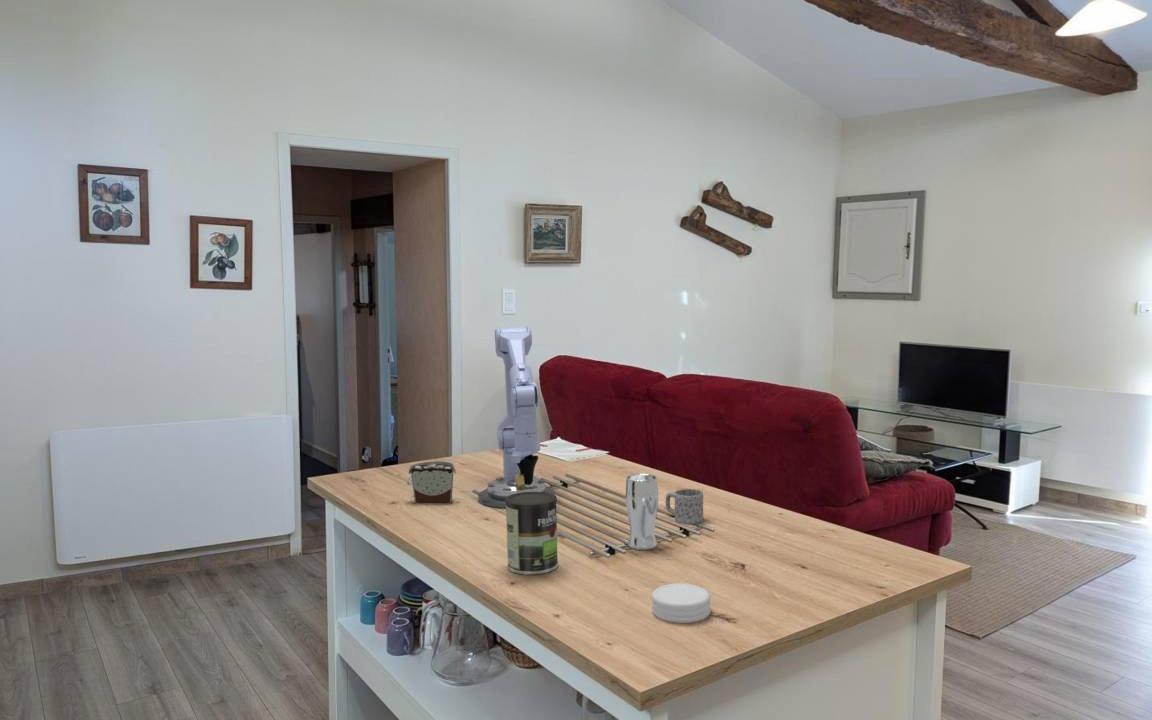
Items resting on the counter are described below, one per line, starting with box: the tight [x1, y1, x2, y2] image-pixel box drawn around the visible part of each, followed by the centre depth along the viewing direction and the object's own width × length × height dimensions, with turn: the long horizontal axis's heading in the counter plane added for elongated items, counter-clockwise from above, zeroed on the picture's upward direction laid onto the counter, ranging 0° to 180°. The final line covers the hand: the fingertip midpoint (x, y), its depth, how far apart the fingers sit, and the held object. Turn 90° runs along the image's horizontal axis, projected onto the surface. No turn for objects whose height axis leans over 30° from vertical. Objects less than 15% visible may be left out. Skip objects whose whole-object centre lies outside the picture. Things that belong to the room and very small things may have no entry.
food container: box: [408, 460, 457, 505], centre depth 218 cm, size 12×6×10 cm, turn 84°
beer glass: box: [625, 473, 659, 551], centre depth 179 cm, size 7×7×15 cm
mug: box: [665, 488, 704, 525], centre depth 198 cm, size 10×7×7 cm
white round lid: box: [651, 583, 711, 624], centre depth 144 cm, size 10×10×4 cm
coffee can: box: [505, 492, 559, 576], centre depth 168 cm, size 10×10×14 cm
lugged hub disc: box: [487, 473, 546, 500], centre depth 219 cm, size 15×15×6 cm
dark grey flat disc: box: [477, 486, 556, 509], centre depth 220 cm, size 20×20×1 cm
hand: (527, 484), depth 215 cm, fingers closed, pressing on lugged hub disc
